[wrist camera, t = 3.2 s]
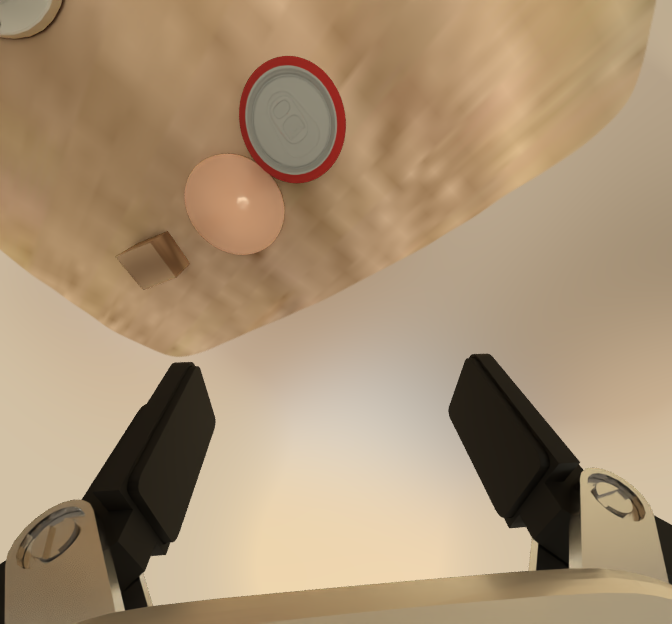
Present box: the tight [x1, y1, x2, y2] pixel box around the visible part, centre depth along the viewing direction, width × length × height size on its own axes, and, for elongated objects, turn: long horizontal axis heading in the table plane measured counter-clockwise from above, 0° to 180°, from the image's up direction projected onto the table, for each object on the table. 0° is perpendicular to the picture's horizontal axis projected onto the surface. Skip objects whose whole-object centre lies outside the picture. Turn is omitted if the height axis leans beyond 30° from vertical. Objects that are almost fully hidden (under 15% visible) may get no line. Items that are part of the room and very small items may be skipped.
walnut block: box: [116, 231, 190, 290], centre depth 30 cm, size 4×4×4 cm
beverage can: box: [239, 56, 346, 183], centre depth 22 cm, size 7×7×12 cm
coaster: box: [184, 154, 285, 255], centre depth 30 cm, size 10×10×1 cm
